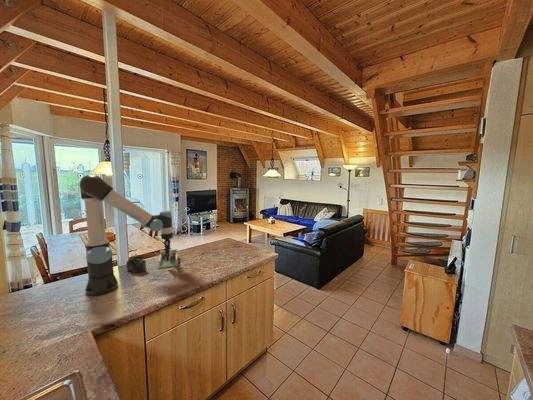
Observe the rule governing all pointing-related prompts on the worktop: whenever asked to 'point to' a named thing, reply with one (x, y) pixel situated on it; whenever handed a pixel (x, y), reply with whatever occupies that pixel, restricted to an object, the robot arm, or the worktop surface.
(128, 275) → the worktop surface
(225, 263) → the worktop surface
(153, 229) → the robot arm
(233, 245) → the worktop surface
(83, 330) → the worktop surface
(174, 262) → the header
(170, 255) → the plug
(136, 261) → the camera
